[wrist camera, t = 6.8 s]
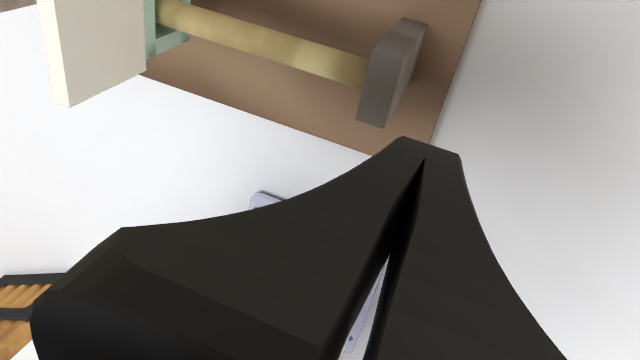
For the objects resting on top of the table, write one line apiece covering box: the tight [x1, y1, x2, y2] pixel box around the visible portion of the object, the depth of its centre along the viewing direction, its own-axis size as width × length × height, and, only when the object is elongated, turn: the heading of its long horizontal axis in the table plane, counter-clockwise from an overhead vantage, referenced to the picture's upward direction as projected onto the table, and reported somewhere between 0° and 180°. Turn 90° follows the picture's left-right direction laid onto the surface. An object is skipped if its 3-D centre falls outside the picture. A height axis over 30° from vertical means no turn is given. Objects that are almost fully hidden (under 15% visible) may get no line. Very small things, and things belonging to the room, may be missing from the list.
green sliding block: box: [36, 0, 191, 108], centre depth 16 cm, size 4×4×6 cm
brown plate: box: [0, 0, 481, 156], centre depth 18 cm, size 10×20×6 cm, turn 79°
